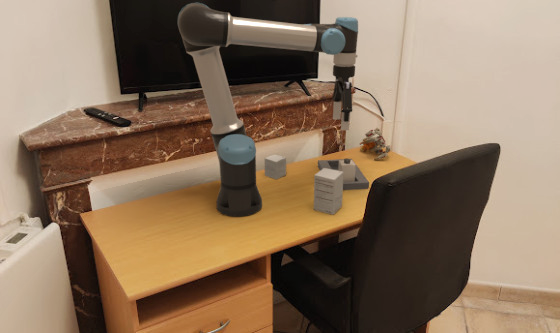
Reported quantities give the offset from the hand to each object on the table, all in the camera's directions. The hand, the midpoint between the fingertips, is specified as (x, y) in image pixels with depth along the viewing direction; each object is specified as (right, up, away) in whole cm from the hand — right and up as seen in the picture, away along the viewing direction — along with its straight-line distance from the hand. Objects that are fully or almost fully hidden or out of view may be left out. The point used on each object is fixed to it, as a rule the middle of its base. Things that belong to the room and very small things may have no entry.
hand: (340, 124), depth 168 cm
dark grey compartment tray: (+2, -19, +11) cm, 22 cm away
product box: (-23, -19, +13) cm, 33 cm away
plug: (+3, -21, +6) cm, 22 cm away
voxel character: (+17, -11, +32) cm, 38 cm away
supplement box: (-6, -29, -13) cm, 32 cm away
